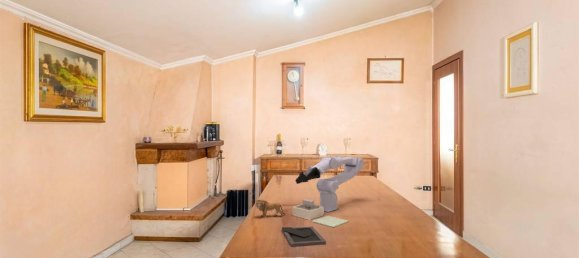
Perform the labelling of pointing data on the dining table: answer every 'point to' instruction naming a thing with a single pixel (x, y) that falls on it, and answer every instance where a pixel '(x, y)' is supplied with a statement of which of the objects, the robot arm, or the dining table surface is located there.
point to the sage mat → (330, 221)
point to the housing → (307, 212)
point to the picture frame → (302, 236)
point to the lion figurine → (268, 207)
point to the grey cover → (308, 205)
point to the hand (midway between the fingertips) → (301, 180)
